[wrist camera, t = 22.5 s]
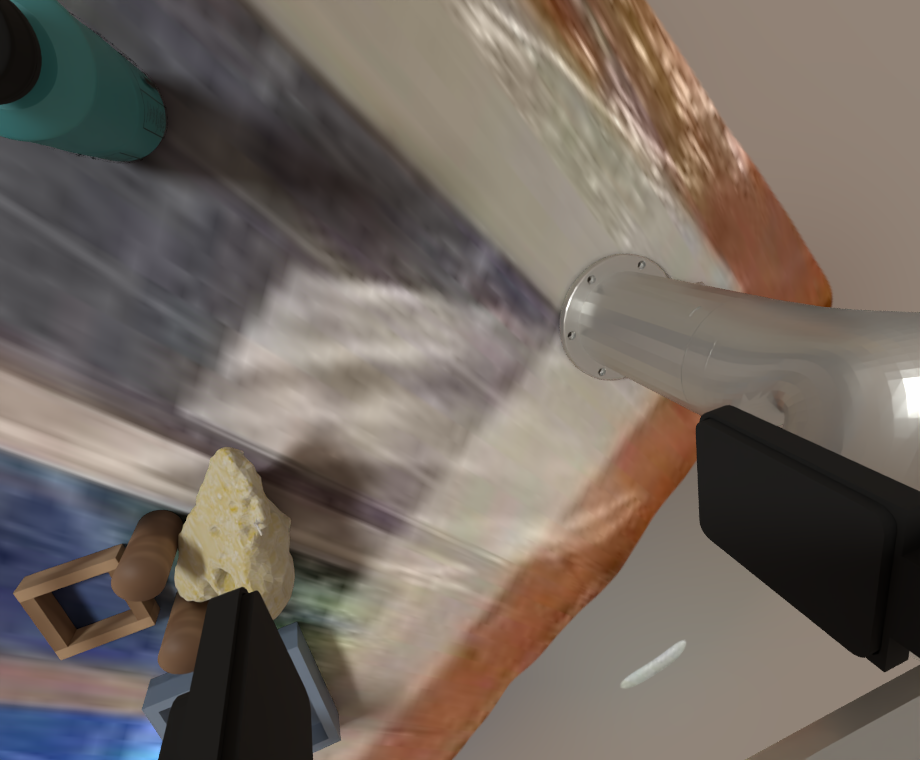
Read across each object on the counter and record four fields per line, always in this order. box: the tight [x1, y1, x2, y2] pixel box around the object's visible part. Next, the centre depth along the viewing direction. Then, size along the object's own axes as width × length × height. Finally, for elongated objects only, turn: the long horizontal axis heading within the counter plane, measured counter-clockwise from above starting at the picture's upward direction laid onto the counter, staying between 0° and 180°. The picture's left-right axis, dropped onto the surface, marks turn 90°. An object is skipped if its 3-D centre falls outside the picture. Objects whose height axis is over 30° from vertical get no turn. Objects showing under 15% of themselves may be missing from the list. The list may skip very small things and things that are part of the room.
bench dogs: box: [111, 510, 210, 674], centre depth 43 cm, size 4×12×7 cm, turn 13°
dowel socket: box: [13, 544, 160, 660], centre depth 44 cm, size 8×8×2 cm
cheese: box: [174, 447, 295, 620], centre depth 44 cm, size 15×7×15 cm
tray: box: [142, 622, 341, 753], centre depth 52 cm, size 14×14×3 cm
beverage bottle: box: [0, 0, 168, 164], centre depth 26 cm, size 6×7×20 cm
